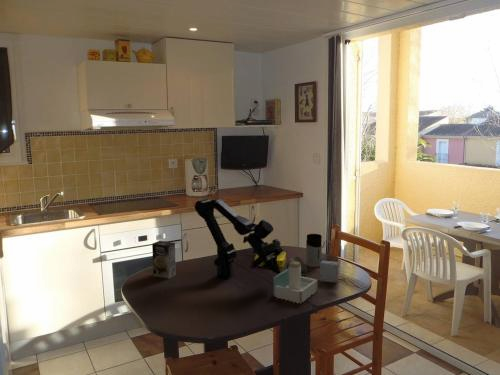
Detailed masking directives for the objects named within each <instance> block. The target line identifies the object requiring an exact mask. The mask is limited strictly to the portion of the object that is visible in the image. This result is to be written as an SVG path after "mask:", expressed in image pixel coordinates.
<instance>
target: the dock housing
mask: <svg viewBox="0 0 500 375" xmlns="http://www.w3.org/2000/svg"><path fill="white" fill-rule="evenodd" d="M301 281H304V282H308V283H310V284H309V285H307V286H306V287H305V288H303V289H302V290H300V291H298V290H294V289H290V288H285V287H281V286H277V285H276V286H275V296H274V297H277V298H276V299H279V298H281V299H280V300H283V299H285V300H284V301H287V300H289V301H288V302H291V301H292V302H291V303H295V302H296V303H295V304H299V303H300V304H299V305H301V304H303V303H304V302H305V301H306V300H308V299H309V298H311V295H312V296H313V295H314V294H315V293H317V292H318V289H319V288H318V286H319V282H318V279H317V278H311V277H305V276H301ZM307 298H308V299H307ZM302 302H303V303H302Z"/></svg>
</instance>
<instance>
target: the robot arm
mask: <svg viewBox="0 0 500 375" xmlns="http://www.w3.org/2000/svg"><path fill="white" fill-rule="evenodd" d="M194 209H195V212H196V213H197V214H198V216H199V217H201V218H202V219H203V220H204V221H205V223H206V227H207V228H208V230H209V232H210V234H211V237H212V238H213V241H214V242H215V245H216V253H217V257H216V259H214V260H213V263H214V266H216V275H215V278H217V279H222V280H223V279H224V280H229V279H230V278H231V277H233V276H234V273H233V271H234V269H233V266H232V264H233V263H234V262H235V259H236V258H237V249H236V248H235V246H234V244H233V243H229V242H228V241H227V240H226V237H225V235H224V233H223V231H222V229H221V227H220V226H219V223H218V221H217V219H216V217H215V214H214V212H215V210H216V211H217V212H218V213H220V214H221V215H222V216H223V217H224V218H226V219H227V220H228V221H229V222H230V223H231V224H232V226H233V229H234V230H235V231H236V232H237V234H238V235H240V236H243V241H242V242H243V244H246V243H248V244H249V245H250V247H251V249H253V251H252V253H253V254H255V255H258V256H259V257H258V258H257V259H256V260H255V259H254V260H253V261H252V262H251V267H252V269H253V270H255V269H258V268H259V267H258V266H259V265H260V264H261V263H262V262H263V264H264V265H263V266H262V267H261V268H266V269H267V270H270V271H272V272H273V273H275V274H277V275H278V274H280V273H281V269H280V268H279V267H278V264H277V257H278V255H279V254H281V253H282V252H284V250H283V248H282V247H281V244H282V243H281V241H280V240H279V239H278V238H275V239H272V242H270V243H269V242H267V241H265V242H264V240H265V239H266V238H267V237H268V236H269V235H271V233H272V232H273V231H274V226H273V225H272V224H271V223H270V222H268V221H267V220H265V219H261V220H260V221H259V223H257V224H256V223H254V222H252V220H250V219H248V218H246V217H243V216H241V215H239V214H238V213H237V212H236V211H235V210H234V209H232V208H231V207H230V206H229V205H228V204H227V203H225V201H224V200H223V199H222V198H215V199H208V198H204V199H200V200H197V201H196V202H195V203H194ZM247 234H248V235H247ZM245 235H246V236H245Z"/></svg>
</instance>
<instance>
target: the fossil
mask: <svg viewBox="0 0 500 375" xmlns="http://www.w3.org/2000/svg"><path fill="white" fill-rule="evenodd" d="M293 261H296V262H300V265H301V276H302V277H305V276H306V275H307V274H308V266H307V265H306V264H305V263H304V261H303V259H301V258H300V257H299V256H298V255H297V256H292V257H291V258H289V260H288V262H287V264H286V269H288V268H289V263H290V262H293Z"/></svg>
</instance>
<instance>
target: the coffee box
mask: <svg viewBox="0 0 500 375" xmlns="http://www.w3.org/2000/svg"><path fill="white" fill-rule="evenodd" d="M151 245H152V270H153V271H152V272H153V277H156V278H163V279H171V278H173V277H175V276H176V271H177V270H176V242H174V241H173V242H172V241H163V240H158V241H155V242H153V243H152V244H151Z"/></svg>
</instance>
